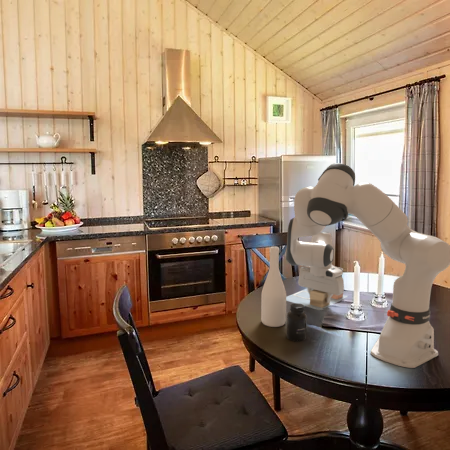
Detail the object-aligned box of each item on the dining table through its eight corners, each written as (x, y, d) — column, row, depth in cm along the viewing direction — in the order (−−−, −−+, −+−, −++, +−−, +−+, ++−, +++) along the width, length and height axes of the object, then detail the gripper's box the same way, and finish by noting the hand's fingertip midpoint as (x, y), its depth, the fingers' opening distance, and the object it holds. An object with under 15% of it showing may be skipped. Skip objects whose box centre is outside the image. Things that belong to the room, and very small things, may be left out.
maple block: (322, 307, 167) (322, 294, 166) (309, 304, 171) (310, 290, 170) (329, 304, 171) (330, 290, 170) (317, 300, 175) (317, 287, 174)
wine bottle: (290, 322, 155) (292, 246, 150) (276, 330, 148) (277, 251, 144) (270, 316, 162) (271, 243, 157) (256, 323, 155) (256, 247, 150)
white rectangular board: (320, 313, 164) (320, 310, 164) (281, 301, 178) (281, 298, 178) (348, 298, 181) (348, 295, 181) (310, 289, 195) (310, 286, 195)
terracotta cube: (337, 299, 177) (337, 288, 176) (327, 296, 180) (327, 286, 179) (342, 296, 180) (343, 286, 179) (332, 294, 184) (333, 283, 183)
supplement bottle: (301, 343, 137) (302, 310, 135) (283, 339, 141) (284, 306, 139) (308, 336, 143) (309, 304, 141) (291, 332, 146) (291, 300, 145)
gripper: (295, 265, 174) (295, 296, 176) (338, 275, 159) (337, 308, 162) (303, 263, 178) (303, 293, 180) (346, 271, 164) (345, 304, 166)
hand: (319, 300), depth 171 cm, fingers open, 6 cm apart
